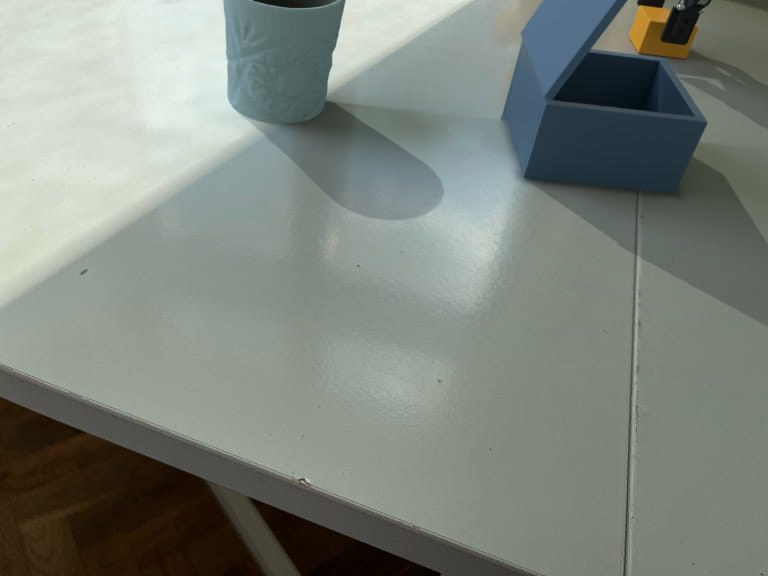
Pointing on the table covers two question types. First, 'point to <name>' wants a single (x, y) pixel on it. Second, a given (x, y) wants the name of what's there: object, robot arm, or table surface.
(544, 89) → the lid
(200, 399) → the table surface
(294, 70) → the embossed flower pot
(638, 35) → the cheese pack
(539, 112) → the cool box
